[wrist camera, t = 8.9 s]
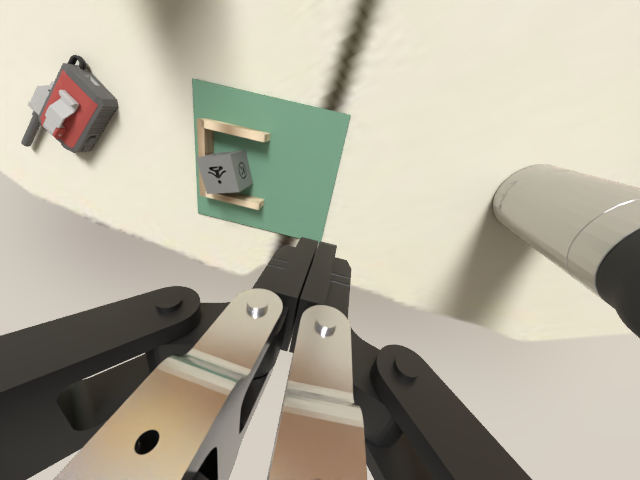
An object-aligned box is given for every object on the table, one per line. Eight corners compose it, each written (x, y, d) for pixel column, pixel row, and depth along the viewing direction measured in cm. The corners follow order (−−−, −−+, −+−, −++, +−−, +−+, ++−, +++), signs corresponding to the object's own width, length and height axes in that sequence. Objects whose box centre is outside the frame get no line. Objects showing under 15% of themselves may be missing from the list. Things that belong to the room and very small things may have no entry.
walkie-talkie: (73, 41, 33) (28, 138, 41) (36, 31, 29) (-6, 141, 37) (127, 98, 36) (75, 180, 43) (98, 96, 32) (47, 186, 39)
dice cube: (245, 149, 36) (230, 154, 32) (253, 183, 38) (239, 192, 34) (215, 152, 37) (195, 157, 32) (224, 185, 39) (207, 194, 35)
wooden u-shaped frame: (270, 133, 34) (264, 134, 32) (263, 204, 40) (258, 210, 37) (207, 118, 35) (196, 118, 32) (208, 191, 40) (199, 195, 38)
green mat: (350, 115, 32) (350, 115, 32) (320, 242, 42) (320, 243, 41) (193, 78, 33) (192, 78, 33) (199, 212, 42) (198, 213, 42)
